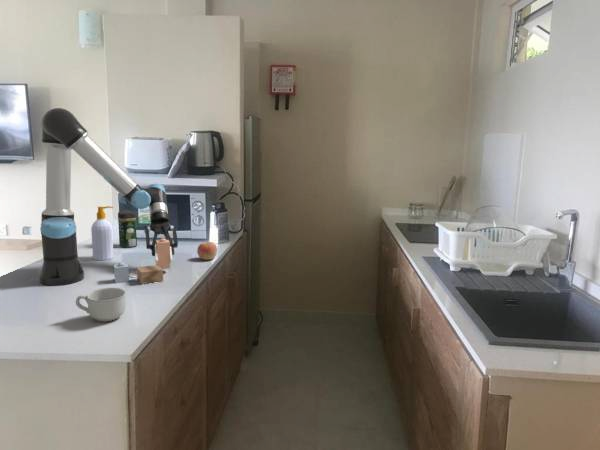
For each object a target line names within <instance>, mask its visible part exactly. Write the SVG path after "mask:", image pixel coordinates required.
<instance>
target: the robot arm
mask: <svg viewBox="0 0 600 450" xmlns="http://www.w3.org/2000/svg"><path fill="white" fill-rule="evenodd" d="M41 139H42V140H41V144H42V145H43V146H44V147H46V153H45V154H46V157H45V158H46V166H45V171H46V173H45V175H46V176H45V177H46V179H45V183H46V184H45V209H44V210H42V212H41V220H40V221H41V222H40V234H41V244H42V245H41V246H42V259H43V262H42V267H41V271H40V272H39V282H40V284H42V285H46V286H62V285H70V284H75V283H76V282H80V281H82V280H83V279H84V278H85V271H84V269H83V267H82V264H81V262H80V261H79V256H78V243H77V241H78V239H77V225H76V222H75V212H74V211H72V210H71V183H72V182H71V180H72V178H71V176H72V174H71V173H72V170H71V169H72V151H74V152H75V153H76V154H77V155H78V156H79V157H80V158H81V159H83V160H84V161H85V162H86V164H88V165H89V166H90V167H91V168H92V169H93V170H95V172H96V173H97V174H99V175H100V176H101V177H102V178H103V179H104V180H105V181H106V182H107V183H109V185H111V187H113V188H114V189H115V190H116V191H117V192H118V200H119V203H120V204H124V205H131V206H132V207H134V208H135V209H137V210H138V209H139V210H144V209H146V208H148V209H149V220H150V224H149V225H148V226H147V225H145V226H144V227H143V232H144V234H145V244H146V246H145V247H146V249H147V250H151V256H152V257H154V261H155V265H156V264H158V256H157V247H156V240H158V239H157V238H158V236H160V235H164V238H165V239H166V240H169V242H170V264H173V259H174V258H173V256H175V248H178V245H179V240H178V233H177V229H178V225H177V224H174V225H172V224H171V223H170V219H169V211H168V202H167V194H166V189H165V187H164V185H162V184H160V183H153V184H150V185H148V187H141V185H139V184H138V183H137V182H136V181H135V180H134V179H133V178H132V177H131V176H130V175H129V174H128V173H127V172H126V171H125V170H124V169H123V168H122V167H121V166H120V165H119V164H118V163H117V162H116V161H115V160H114V159H113V158H112V157H111V156H110V155H109V154H107V152H105V150H104V149H102V147H100V146H99V144H98V143H96V141H94V140H93V139H92V138H91V137H90V136H89V131H88V130H87V129H86V128H85V127H84V126H83V125H82V124H81V123H80V121H79V120H78V119H77V117H76V116H75V115H74V114H73V113H72V112H71V111H69V110H68V109H65V108H63V107H62V108H61V107H55V108H51V109H49V110H48V111H47V112H45V113H44V115H43V116H42V119H41ZM169 230H171V232H172V236H171V235H170V233H169ZM150 231H152V232H153V233H154V234H153V238H152V240H150ZM171 237H172V238H173V239H172V238H171ZM151 241H152V243H150V242H151Z"/></svg>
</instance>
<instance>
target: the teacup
mask: <svg viewBox="0 0 600 450" xmlns="http://www.w3.org/2000/svg"><path fill="white" fill-rule="evenodd" d="M126 292H127V291H126V290H124V289H123V288H119V287H102V288H98V289H94V290H91V291H90V292H89V293H88V294H87V295H86V294H80V295H78V296H77V297H76V299H75V305H76V306H77V308H79V309H80V310H82V311H84V312H86V314H89V316H90V317H91V318H93V320H95V321H98V322H103V323H105V322H107V321H108V322H112V320H113V321H115V319H116V320H117V319H119V318H120V316H122V315H123V314H124V313H125V311H126V308H127V307H126V305H127V303H126V299H127V298H126ZM82 299H83V300H84V301H85V302H86V304H87V306H84V305H83V304H81V302H80V301H81V300H82Z"/></svg>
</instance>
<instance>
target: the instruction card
mask: <svg viewBox="0 0 600 450" xmlns="http://www.w3.org/2000/svg"><path fill="white" fill-rule="evenodd" d="M129 278H137V271H134V272H129Z"/></svg>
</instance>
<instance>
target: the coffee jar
mask: <svg viewBox="0 0 600 450" xmlns="http://www.w3.org/2000/svg"><path fill="white" fill-rule="evenodd" d="M136 223H137V216H136V212H134V211H132V210H129V209H123V210H122V209H121V210H120V211H118V213H117V224H118V242H119V244H118V245H119V246H120V247H122V248H125V249H126V248H128V249H130V248H135V247H137V246H138V241H137V240H138V237H137V236H138V235H137V224H136Z"/></svg>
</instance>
